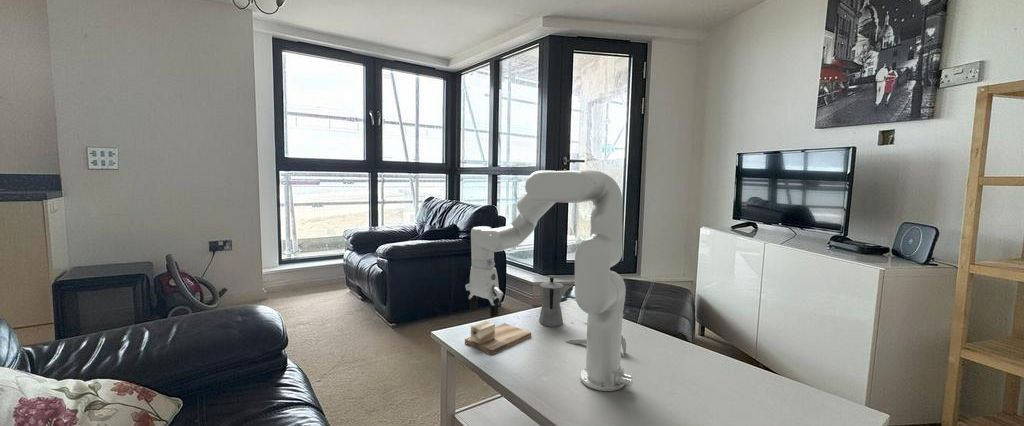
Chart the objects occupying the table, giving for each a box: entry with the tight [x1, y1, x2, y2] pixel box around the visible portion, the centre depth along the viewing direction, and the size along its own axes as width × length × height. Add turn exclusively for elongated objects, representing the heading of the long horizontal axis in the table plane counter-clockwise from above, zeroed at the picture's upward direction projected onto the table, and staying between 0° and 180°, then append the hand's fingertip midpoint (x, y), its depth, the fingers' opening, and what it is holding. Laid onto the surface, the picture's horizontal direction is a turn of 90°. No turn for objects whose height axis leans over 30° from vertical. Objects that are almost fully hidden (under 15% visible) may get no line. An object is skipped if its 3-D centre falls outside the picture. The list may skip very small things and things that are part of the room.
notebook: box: [464, 322, 532, 356], centre depth 147 cm, size 13×20×2 cm, turn 138°
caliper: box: [565, 334, 627, 355], centre depth 141 cm, size 20×1×6 cm, turn 64°
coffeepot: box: [538, 276, 565, 327], centre depth 162 cm, size 15×9×18 cm, turn 175°
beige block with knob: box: [470, 320, 496, 344], centre depth 144 cm, size 4×9×5 cm, turn 138°
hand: (484, 312), depth 142 cm, fingers open, 9 cm apart
